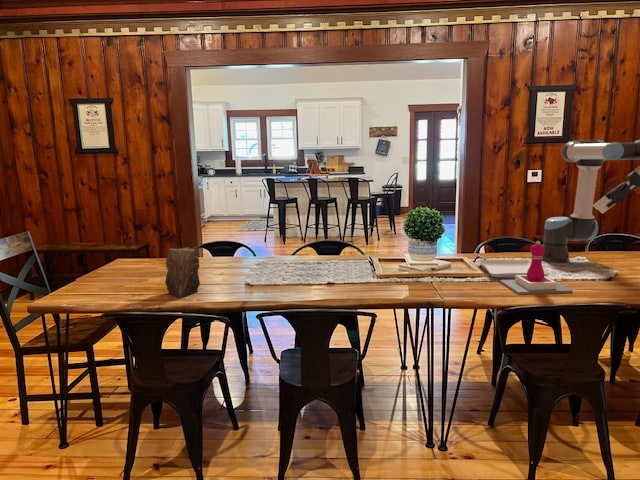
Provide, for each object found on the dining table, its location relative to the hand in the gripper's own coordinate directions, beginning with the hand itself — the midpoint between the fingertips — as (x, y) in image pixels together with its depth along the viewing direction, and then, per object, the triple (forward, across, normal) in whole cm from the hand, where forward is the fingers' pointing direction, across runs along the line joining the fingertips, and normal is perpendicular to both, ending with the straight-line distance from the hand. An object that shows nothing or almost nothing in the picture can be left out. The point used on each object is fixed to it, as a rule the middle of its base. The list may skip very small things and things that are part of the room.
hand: (597, 209), depth 208 cm
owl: (+144, -81, +96) cm, 190 cm away
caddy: (+41, -19, -7) cm, 46 cm away
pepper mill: (+40, -18, -6) cm, 44 cm away
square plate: (+48, +4, 0) cm, 48 cm away
